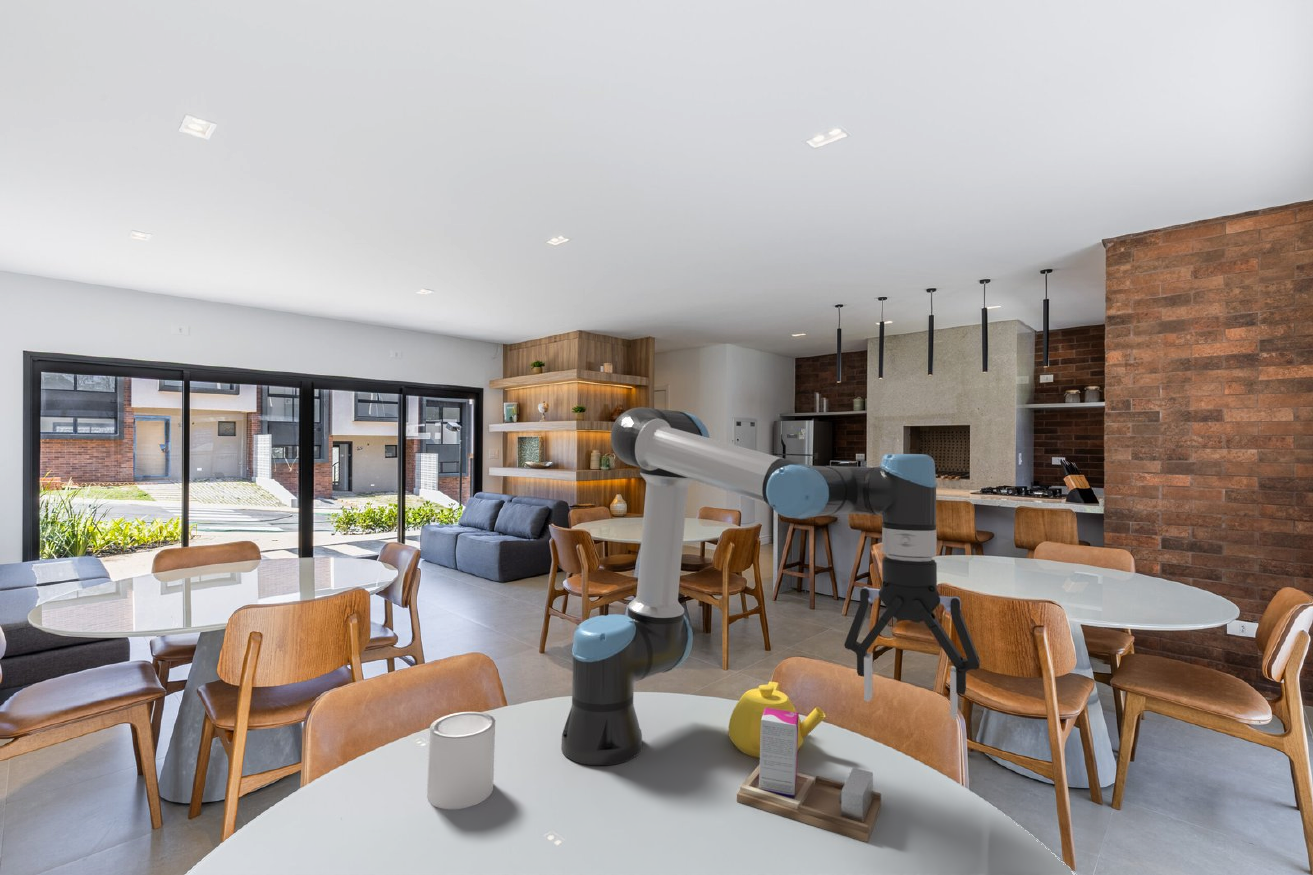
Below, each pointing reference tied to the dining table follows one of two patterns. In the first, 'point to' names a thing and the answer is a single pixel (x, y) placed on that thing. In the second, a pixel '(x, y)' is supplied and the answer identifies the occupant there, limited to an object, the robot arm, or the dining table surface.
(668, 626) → the robot arm
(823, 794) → the board
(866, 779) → the block
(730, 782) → the dining table surface
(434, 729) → the mug
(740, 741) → the teapot
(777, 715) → the supplement box
